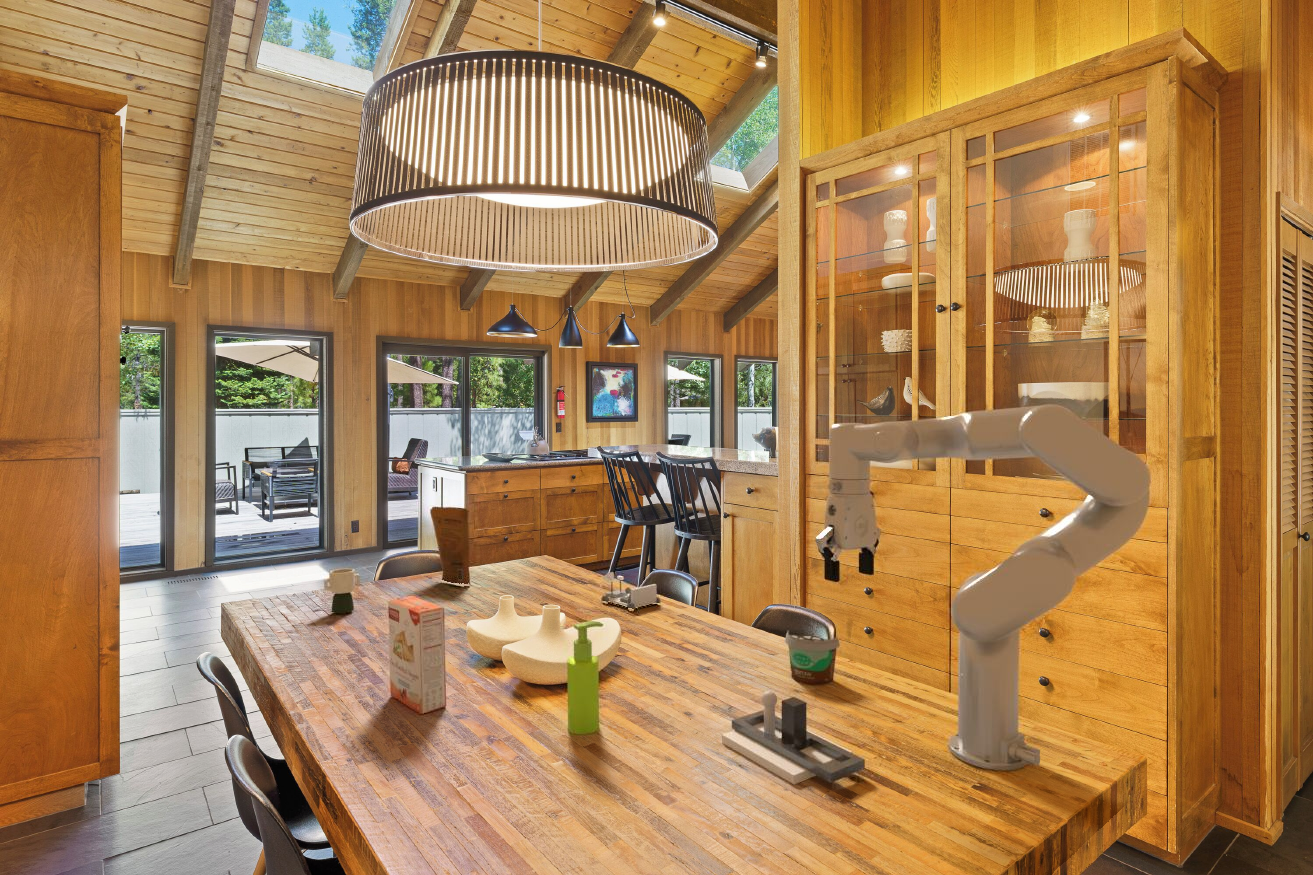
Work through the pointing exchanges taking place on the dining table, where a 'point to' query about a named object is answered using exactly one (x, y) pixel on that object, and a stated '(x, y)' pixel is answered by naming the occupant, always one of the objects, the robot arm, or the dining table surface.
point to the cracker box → (417, 653)
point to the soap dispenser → (583, 684)
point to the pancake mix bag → (452, 542)
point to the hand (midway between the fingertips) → (849, 577)
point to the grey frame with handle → (799, 741)
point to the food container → (812, 658)
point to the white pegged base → (769, 757)
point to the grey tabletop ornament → (631, 594)
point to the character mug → (342, 589)
